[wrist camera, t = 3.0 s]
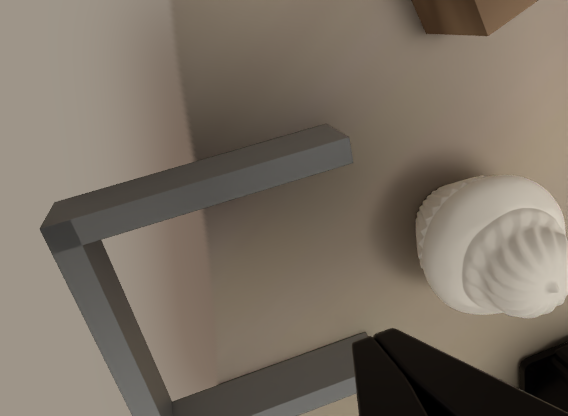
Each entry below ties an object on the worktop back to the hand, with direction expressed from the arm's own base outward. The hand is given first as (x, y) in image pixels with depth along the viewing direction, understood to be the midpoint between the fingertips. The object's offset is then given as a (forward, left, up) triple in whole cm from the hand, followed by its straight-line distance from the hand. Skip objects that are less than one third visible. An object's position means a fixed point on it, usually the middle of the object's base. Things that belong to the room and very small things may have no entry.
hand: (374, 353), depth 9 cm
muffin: (-5, -8, -12) cm, 15 cm away
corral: (-5, +2, -12) cm, 13 cm away
